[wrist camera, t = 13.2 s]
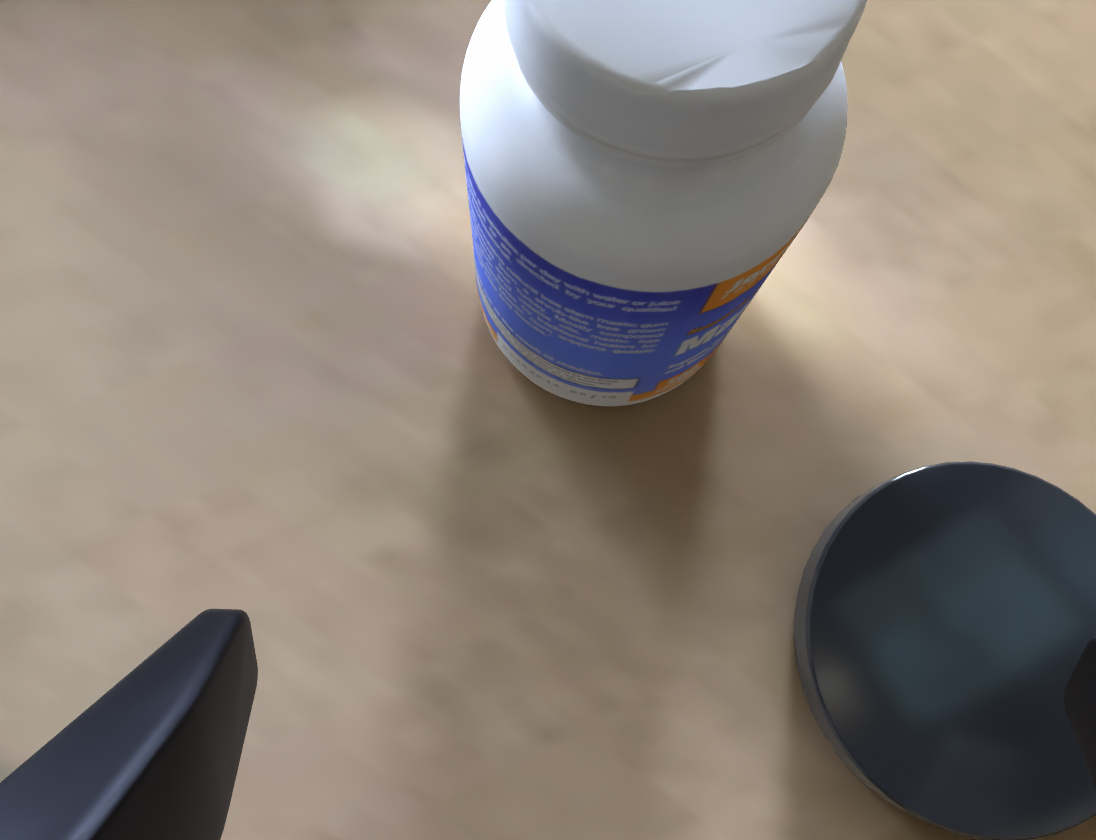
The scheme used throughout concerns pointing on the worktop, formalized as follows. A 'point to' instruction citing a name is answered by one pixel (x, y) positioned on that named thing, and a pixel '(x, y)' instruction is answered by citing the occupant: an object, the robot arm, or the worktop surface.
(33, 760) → the robot arm
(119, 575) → the worktop surface
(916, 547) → the coaster
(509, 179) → the pill bottle
